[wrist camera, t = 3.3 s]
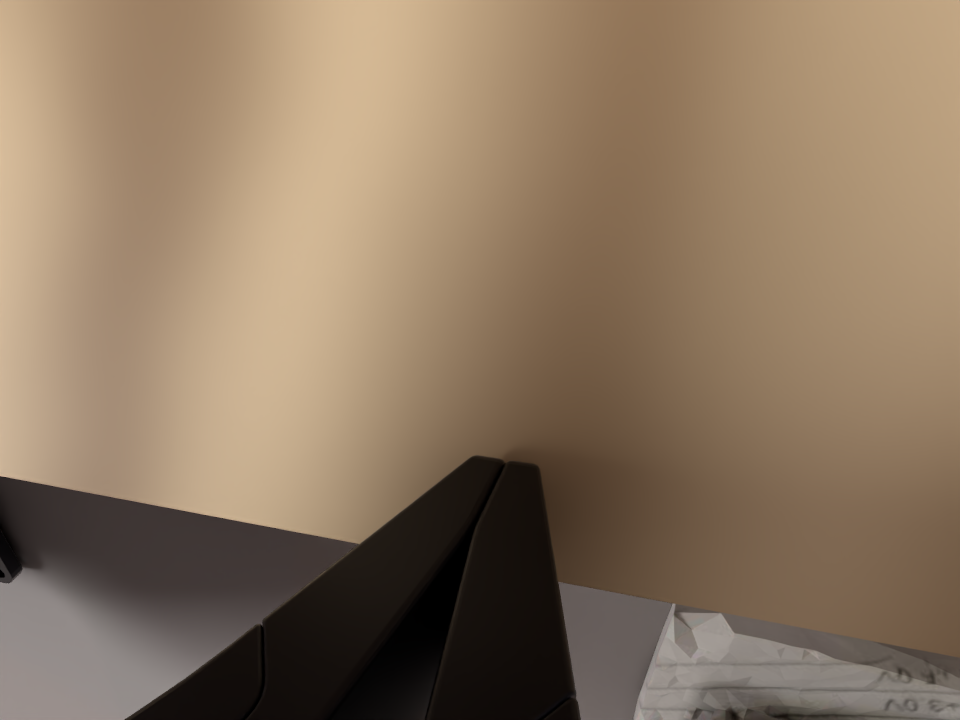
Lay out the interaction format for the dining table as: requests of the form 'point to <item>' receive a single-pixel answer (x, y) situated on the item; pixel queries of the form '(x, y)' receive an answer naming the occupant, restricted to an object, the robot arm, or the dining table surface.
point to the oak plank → (506, 279)
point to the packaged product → (789, 674)
